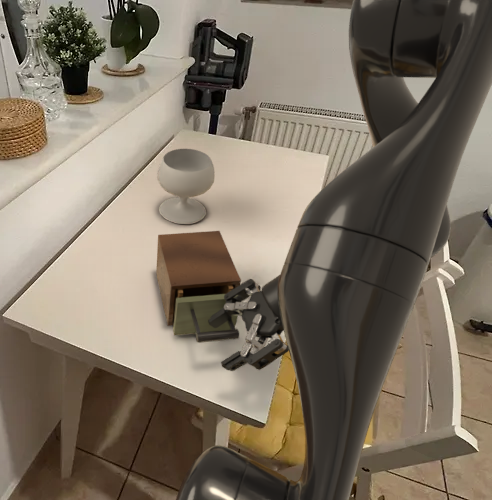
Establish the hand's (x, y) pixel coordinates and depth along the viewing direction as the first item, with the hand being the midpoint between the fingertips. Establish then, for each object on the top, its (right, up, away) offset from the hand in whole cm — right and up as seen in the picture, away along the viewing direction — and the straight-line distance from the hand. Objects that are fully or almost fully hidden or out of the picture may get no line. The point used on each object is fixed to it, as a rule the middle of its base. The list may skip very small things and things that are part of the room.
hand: (217, 345), depth 71 cm
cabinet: (-2, +6, +18) cm, 19 cm away
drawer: (-1, +2, +12) cm, 12 cm away
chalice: (-2, +26, +41) cm, 49 cm away
